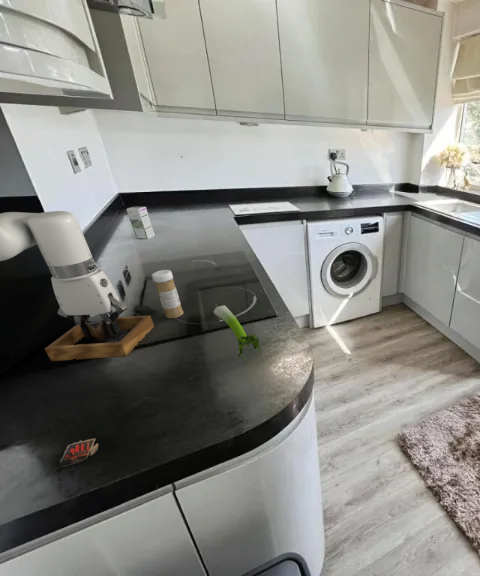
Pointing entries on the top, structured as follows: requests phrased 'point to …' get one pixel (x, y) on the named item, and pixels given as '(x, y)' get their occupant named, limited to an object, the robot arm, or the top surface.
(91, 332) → the gray metal cup
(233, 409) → the top surface
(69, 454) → the matchbox
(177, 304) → the sprinkles bottle
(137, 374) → the top surface
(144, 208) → the syrup box
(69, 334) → the wooden frame
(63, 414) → the top surface
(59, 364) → the top surface
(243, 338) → the celery stalk
